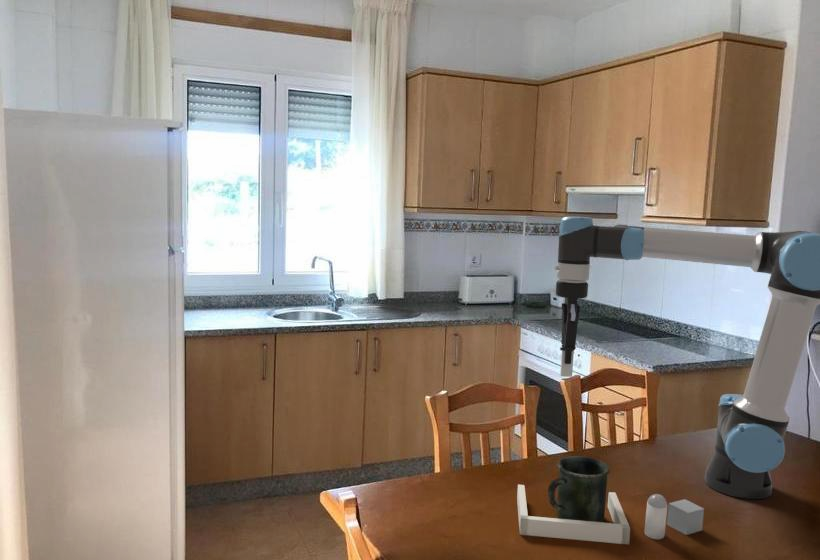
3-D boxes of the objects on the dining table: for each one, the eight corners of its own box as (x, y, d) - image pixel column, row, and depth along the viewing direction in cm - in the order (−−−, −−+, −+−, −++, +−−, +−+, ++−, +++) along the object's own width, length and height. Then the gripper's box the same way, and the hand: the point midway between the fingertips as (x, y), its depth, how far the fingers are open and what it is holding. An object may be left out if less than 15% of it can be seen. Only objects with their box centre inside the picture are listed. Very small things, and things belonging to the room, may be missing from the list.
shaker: (646, 526, 146) (650, 488, 144) (666, 532, 144) (670, 493, 142) (642, 535, 143) (645, 496, 141) (662, 541, 141) (666, 502, 139)
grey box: (701, 530, 146) (704, 508, 145) (685, 535, 144) (687, 513, 143) (682, 520, 150) (684, 499, 150) (666, 525, 148) (668, 503, 147)
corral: (614, 507, 155) (615, 492, 155) (628, 544, 139) (630, 528, 138) (517, 498, 158) (517, 484, 157) (519, 534, 141) (520, 518, 141)
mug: (617, 523, 148) (621, 470, 146) (564, 537, 141) (567, 482, 139) (582, 502, 157) (586, 452, 156) (532, 514, 150) (535, 462, 149)
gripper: (554, 276, 171) (548, 368, 174) (559, 283, 158) (552, 381, 161) (584, 278, 170) (578, 370, 173) (592, 284, 157) (585, 383, 160)
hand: (566, 375), depth 167 cm, fingers closed
